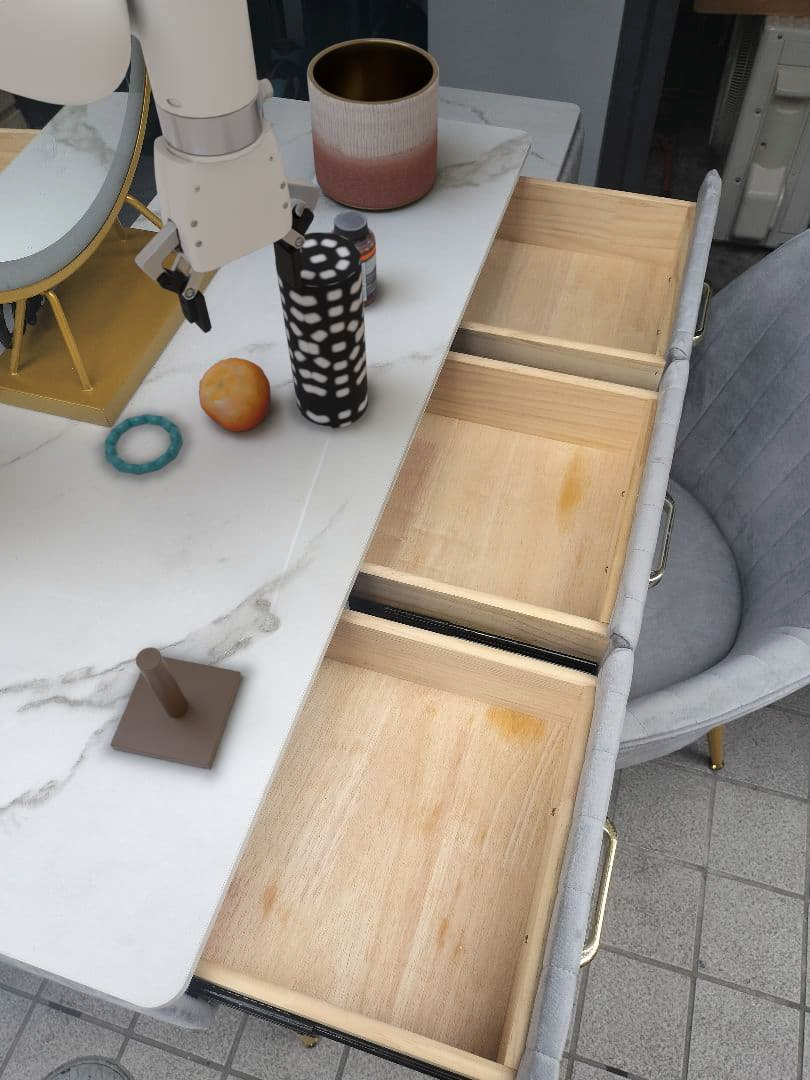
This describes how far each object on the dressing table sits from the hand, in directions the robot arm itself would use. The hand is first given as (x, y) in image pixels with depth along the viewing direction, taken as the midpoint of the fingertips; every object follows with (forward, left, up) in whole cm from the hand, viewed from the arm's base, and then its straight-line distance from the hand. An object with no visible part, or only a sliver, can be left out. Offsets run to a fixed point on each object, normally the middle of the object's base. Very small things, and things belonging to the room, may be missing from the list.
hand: (246, 301), depth 75 cm
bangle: (-14, -3, -20) cm, 25 cm away
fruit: (-5, +4, -21) cm, 22 cm away
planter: (0, +53, -21) cm, 57 cm away
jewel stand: (+1, -32, -21) cm, 38 cm away
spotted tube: (+5, +8, -21) cm, 23 cm away
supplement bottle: (+3, +27, -21) cm, 34 cm away
